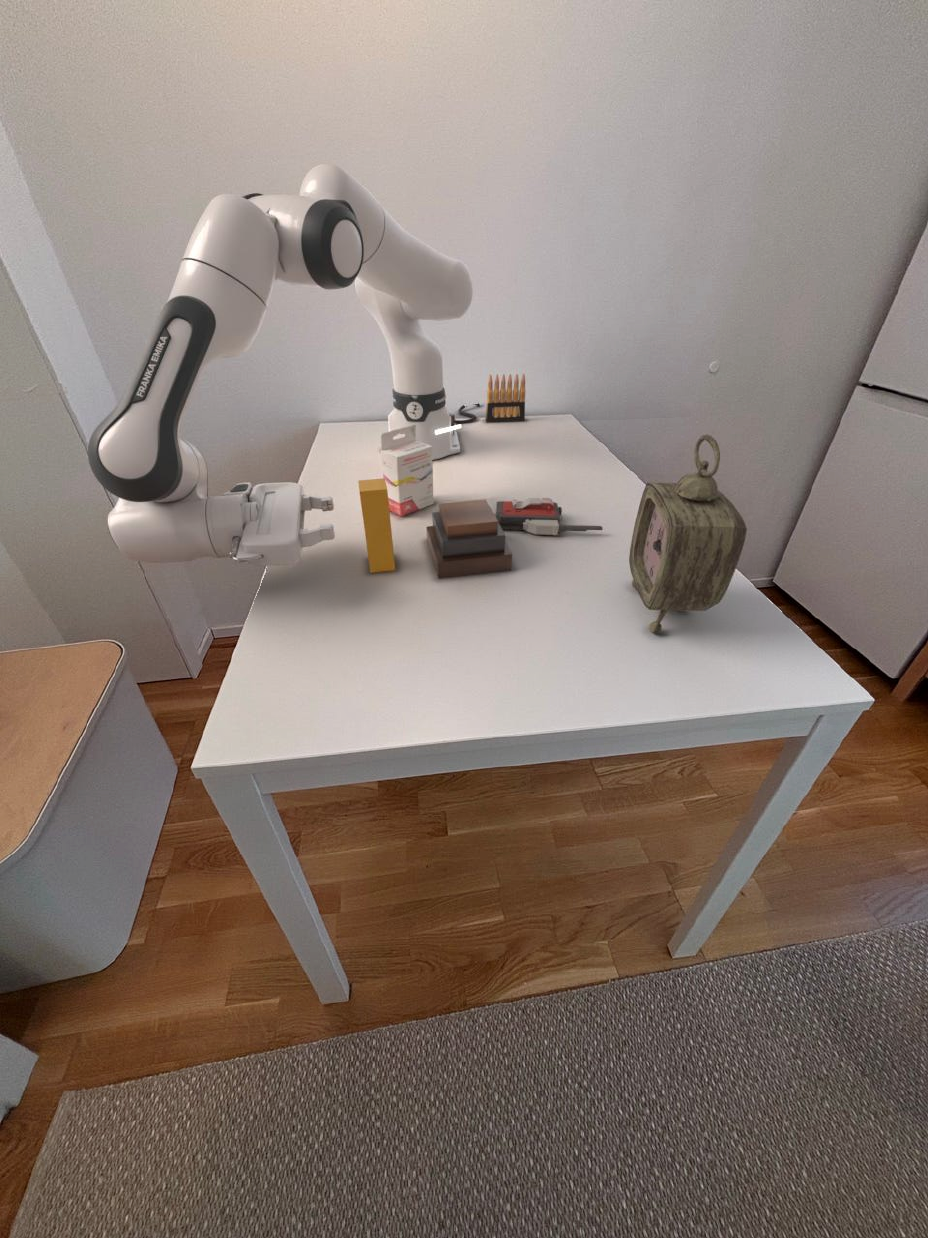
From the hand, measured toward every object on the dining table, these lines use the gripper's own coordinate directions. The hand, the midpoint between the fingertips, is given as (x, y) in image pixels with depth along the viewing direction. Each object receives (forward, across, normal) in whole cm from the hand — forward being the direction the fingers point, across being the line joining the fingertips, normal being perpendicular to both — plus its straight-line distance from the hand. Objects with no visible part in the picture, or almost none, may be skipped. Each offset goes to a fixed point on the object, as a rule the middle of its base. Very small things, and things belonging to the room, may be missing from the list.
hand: (333, 516), depth 78 cm
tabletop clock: (+46, -21, +10) cm, 51 cm away
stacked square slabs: (+21, 0, +9) cm, 23 cm away
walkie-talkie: (+37, +8, +10) cm, 39 cm away
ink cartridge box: (+14, +20, +10) cm, 26 cm away
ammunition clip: (+46, +68, +9) cm, 82 cm away
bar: (+6, 0, +10) cm, 11 cm away
